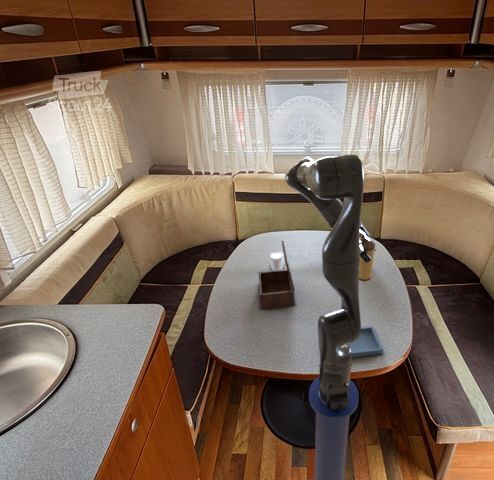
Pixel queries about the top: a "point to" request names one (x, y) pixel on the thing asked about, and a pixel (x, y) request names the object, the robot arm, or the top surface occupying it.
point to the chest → (275, 289)
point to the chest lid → (288, 266)
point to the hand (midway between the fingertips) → (371, 256)
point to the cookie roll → (366, 268)
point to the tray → (366, 343)
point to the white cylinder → (276, 260)
